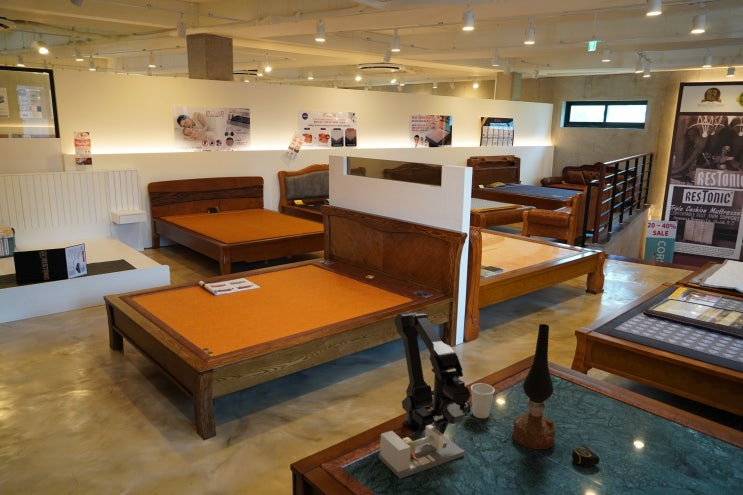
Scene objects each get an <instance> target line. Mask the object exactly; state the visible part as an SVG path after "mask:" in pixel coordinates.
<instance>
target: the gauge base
mask: <svg viewBox="0 0 743 495" xmlns="http://www.w3.org/2000/svg"><path fill="white" fill-rule="evenodd" d="M402 439H403V438H401V437H400V436H399V435H398V434H396V433H395V432H394V431H393V430H389V431H385V432H383V433H381V434H380V446H379V448H380V449H379V450H380V452H378V456H377V457H378V459H379V460H380V461H381V462H382V463H384V465H385V466H386V467H387V468H389V470H390V471H392V473H394V475H396V476H397V478H399V479H404V478H406V477H409V476H411V475H414V474H417V473H420V472H423V471H425V470H429V469H431V468H435V467H436V466H440V465H442V464H444V463H448V462H450V461H453V460H456V459H458V458H462V457H464V456H465V450H464V449H462V448H461V447H459V445H457V444H456V443H455V442H453V441H452V440H450V439H449V438H448V437H446V436H445V435H444V437H443V449H442V450H439V451H438V450H437V449H436V448H435V447H433V446H432V445H431V444H430V443H429V442H427V443H424V444H421V445H418V446H415V457H416V458H417V459H418V460H419V461H418V462H417V461H416V460H415V459H413V458H412V457H410V449H411V447H410V446H409V445H408V444H407V443H406V442H404V441H403V440H402Z"/></svg>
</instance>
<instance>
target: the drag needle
mask: <svg viewBox="0 0 743 495" xmlns="http://www.w3.org/2000/svg"><path fill="white" fill-rule="evenodd" d="M401 439H402V440H403V441H404V442H406V443H407V444H408V445H409V446H410V447H411V449H410V457H412V458H413V459H415V460H416V461H417V462H418V461H419V460H418V459H417V458H416V457H415V443H414V442H413V441H414V440H412V439H411V438H410V437H408V436H407V437H403V438H401Z"/></svg>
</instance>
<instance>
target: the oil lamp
mask: <svg viewBox="0 0 743 495" xmlns="http://www.w3.org/2000/svg"><path fill="white" fill-rule="evenodd" d="M537 333H538V334H537V338H536V346H535V353H534V356H533V357H534V358H533V361H532V364H531V366H530V369H529V370H528V372H527V375H526V376H525V378H524V381H523V384H522V389H523V392H524V393H525V395H526V396H527V398H529V399H528V400H527V402H526V404H527V407H528V412H527V413H522V414H519V415H517V416H516V417H515V418H514V419H513V420H514V421H513V429H512V433H511V435H512V439H513V440H514V441H515V442H517V443H518V444H519V445H522V446H523V447H526V448H527V449H528V448H529V449H534V450H546V449H549V448H552V447H553V446H554V445H555V443H556V442H555V441H556V439H555V435H556V434H555V433H556V426H555V424H554V420H552V419H550V418H548V417H545V416H544V414H543V412H544V411H545V409H546V408H547V404H546V402H545V401H547V400H549V399H550V398H551V397H552V395H553V393H554V384H553V379H552V377H551V373H550V369H549V368H550V367H549V358H548V356H549V355H548V354H549V336H550V325H549V324H545V323H541V324H539V327H538V332H537Z"/></svg>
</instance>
